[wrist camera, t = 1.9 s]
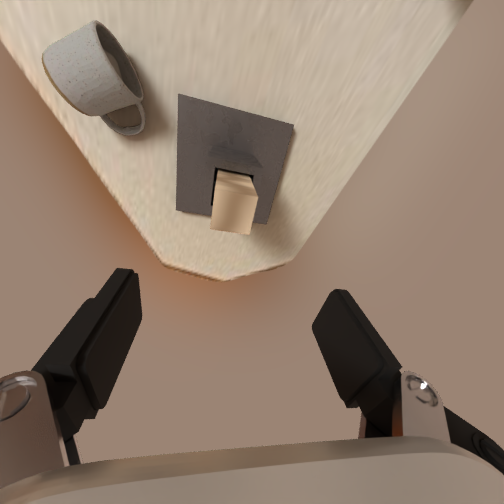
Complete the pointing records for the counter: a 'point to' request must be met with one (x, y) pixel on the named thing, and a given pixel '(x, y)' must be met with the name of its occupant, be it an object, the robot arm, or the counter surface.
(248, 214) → the post
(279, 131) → the stand
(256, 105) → the counter surface
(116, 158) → the counter surface
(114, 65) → the ceramic mug
